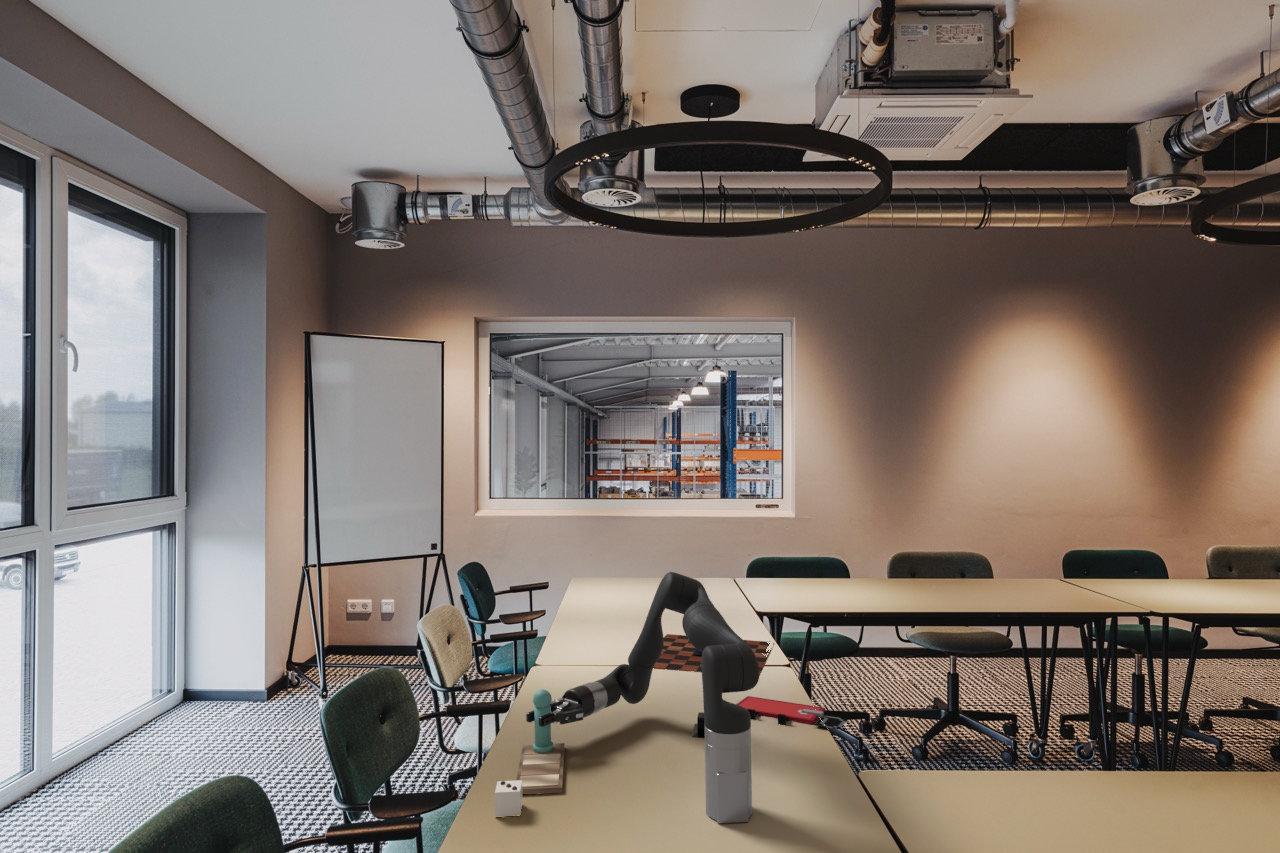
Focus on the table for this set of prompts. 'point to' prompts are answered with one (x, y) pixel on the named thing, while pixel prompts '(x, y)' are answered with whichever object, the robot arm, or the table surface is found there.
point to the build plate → (699, 727)
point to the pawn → (541, 733)
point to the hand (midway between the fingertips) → (533, 720)
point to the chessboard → (696, 654)
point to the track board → (541, 770)
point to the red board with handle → (790, 712)
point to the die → (508, 798)
